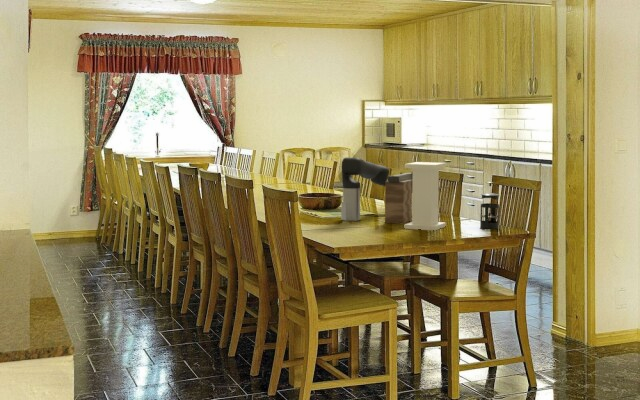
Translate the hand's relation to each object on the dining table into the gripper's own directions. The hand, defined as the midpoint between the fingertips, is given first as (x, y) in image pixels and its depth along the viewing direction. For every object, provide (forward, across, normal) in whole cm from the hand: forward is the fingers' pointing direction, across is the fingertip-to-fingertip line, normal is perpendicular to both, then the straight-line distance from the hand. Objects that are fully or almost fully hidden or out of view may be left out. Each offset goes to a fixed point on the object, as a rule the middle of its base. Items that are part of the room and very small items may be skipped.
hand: (407, 169), depth 445 cm
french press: (-5, -17, -55) cm, 58 cm away
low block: (-2, +19, -22) cm, 29 cm away
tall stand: (+8, +8, -40) cm, 42 cm away
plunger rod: (+5, +5, -6) cm, 10 cm away
